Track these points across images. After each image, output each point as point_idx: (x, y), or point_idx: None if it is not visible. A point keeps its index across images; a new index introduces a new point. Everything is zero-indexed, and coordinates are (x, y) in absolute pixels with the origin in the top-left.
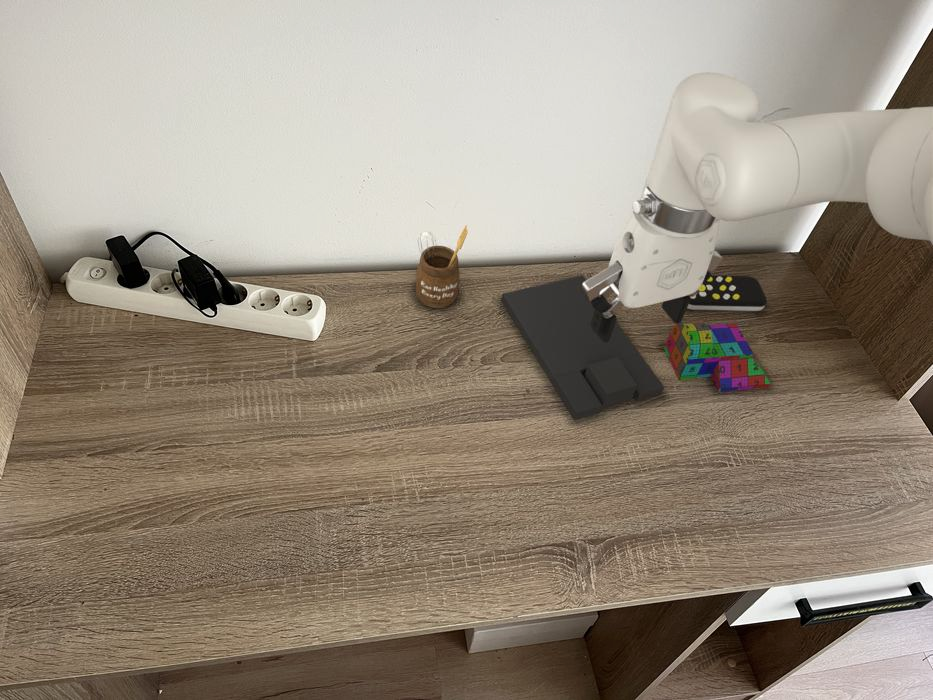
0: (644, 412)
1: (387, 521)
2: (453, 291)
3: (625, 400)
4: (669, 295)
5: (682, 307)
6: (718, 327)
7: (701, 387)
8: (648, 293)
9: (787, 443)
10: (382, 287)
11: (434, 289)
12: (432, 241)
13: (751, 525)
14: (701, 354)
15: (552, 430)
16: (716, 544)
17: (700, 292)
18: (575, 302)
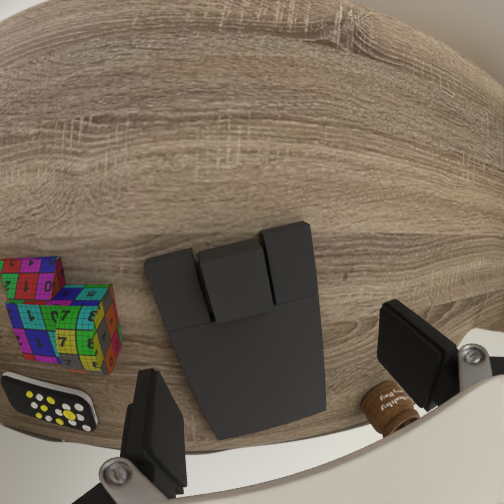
0: (184, 225)
1: (478, 142)
2: (381, 400)
3: (211, 249)
4: (344, 500)
5: (150, 421)
6: (46, 357)
7: (81, 266)
8: (501, 454)
9: (5, 160)
10: None
11: (404, 397)
12: None
13: (109, 31)
14: (75, 311)
15: (336, 207)
16: (170, 9)
17: (68, 409)
18: (241, 409)
